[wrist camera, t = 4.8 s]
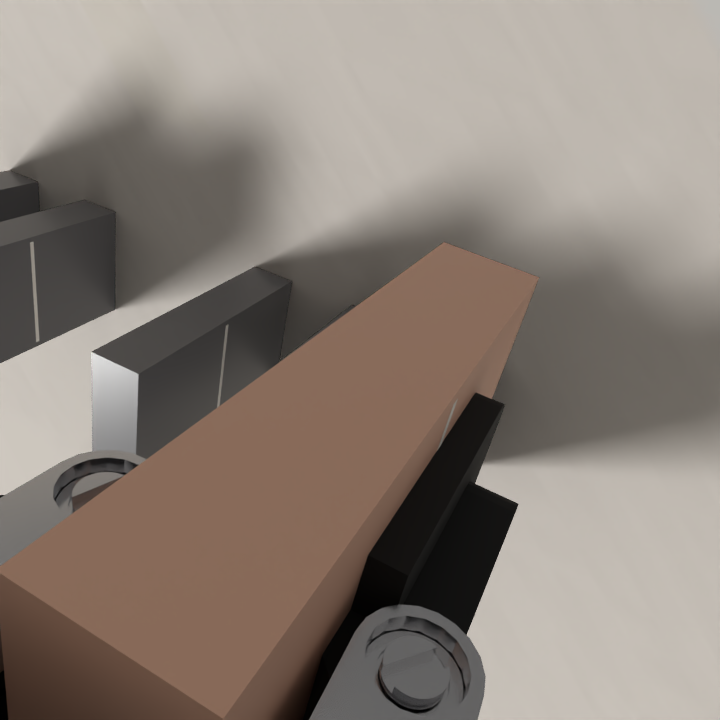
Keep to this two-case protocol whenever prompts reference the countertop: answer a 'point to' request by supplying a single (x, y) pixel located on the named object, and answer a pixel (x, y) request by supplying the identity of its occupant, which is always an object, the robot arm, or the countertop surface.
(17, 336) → the domino
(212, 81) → the countertop surface
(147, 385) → the domino
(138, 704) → the domino
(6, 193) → the domino
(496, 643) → the countertop surface
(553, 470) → the countertop surface
